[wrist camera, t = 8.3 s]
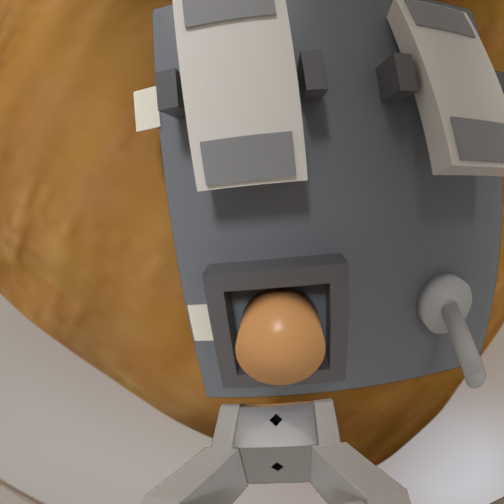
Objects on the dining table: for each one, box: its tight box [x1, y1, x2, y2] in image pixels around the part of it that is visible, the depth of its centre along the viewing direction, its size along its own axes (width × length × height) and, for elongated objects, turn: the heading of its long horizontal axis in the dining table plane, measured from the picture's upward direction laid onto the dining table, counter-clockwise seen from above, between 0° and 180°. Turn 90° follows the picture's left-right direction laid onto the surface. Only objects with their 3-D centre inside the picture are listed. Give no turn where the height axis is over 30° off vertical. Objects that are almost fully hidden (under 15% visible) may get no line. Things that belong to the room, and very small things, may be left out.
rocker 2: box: [387, 0, 504, 176], centre depth 9 cm, size 8×4×2 cm, turn 6°
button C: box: [235, 287, 326, 386], centre depth 13 cm, size 4×4×2 cm
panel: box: [134, 0, 504, 397], centre depth 12 cm, size 21×18×8 cm
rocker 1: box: [172, 0, 308, 192], centre depth 10 cm, size 8×4×2 cm, turn 6°
